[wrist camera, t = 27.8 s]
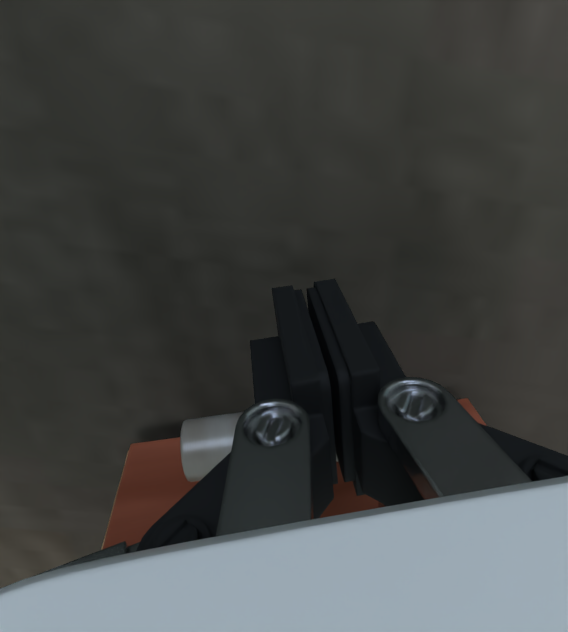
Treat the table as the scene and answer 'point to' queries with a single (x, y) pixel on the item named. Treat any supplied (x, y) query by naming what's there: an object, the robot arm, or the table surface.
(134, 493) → the drawer
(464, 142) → the table surface
